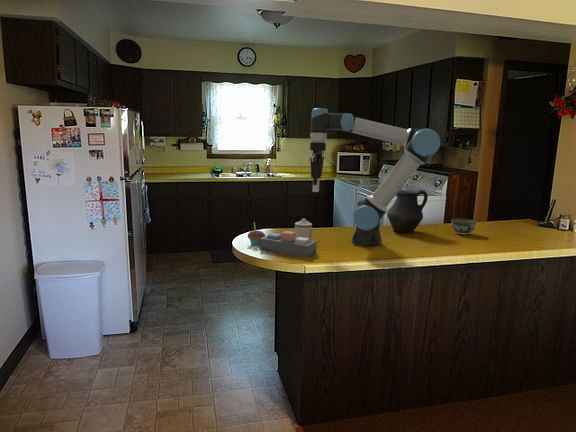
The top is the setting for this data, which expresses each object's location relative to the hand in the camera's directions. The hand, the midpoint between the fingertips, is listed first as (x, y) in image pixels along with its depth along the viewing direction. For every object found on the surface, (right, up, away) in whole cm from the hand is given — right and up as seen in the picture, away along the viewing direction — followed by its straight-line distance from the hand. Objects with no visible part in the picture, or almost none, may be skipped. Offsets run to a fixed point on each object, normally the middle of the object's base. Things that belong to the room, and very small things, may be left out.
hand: (315, 191), depth 211 cm
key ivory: (-7, -27, -12) cm, 30 cm away
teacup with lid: (-6, -25, +13) cm, 28 cm away
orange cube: (-13, -24, -10) cm, 29 cm away
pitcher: (+55, -21, +44) cm, 73 cm away
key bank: (-13, -28, -9) cm, 32 cm away
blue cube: (-20, -25, -6) cm, 33 cm away
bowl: (+88, -22, +43) cm, 100 cm away
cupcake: (-29, -26, 0) cm, 39 cm away
